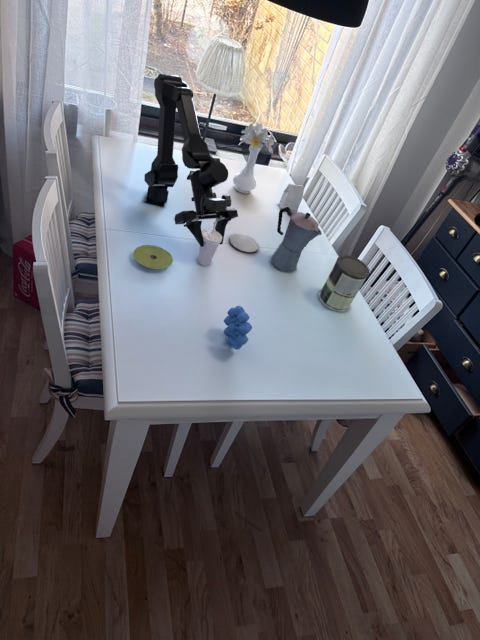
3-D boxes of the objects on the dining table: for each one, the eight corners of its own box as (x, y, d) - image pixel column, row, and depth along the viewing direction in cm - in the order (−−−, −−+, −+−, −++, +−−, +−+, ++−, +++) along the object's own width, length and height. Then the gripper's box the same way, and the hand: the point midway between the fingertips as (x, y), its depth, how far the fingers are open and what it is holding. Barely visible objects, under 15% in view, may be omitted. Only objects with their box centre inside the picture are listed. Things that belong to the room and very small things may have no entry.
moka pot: (295, 281, 152) (320, 228, 139) (255, 256, 155) (276, 203, 142) (307, 270, 159) (332, 218, 146) (269, 247, 162) (290, 194, 149)
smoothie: (215, 259, 148) (227, 220, 139) (212, 270, 143) (225, 231, 134) (195, 252, 147) (206, 213, 138) (191, 264, 142) (203, 224, 133)
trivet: (224, 243, 155) (224, 242, 155) (236, 231, 163) (236, 230, 163) (251, 257, 154) (252, 255, 154) (262, 244, 162) (262, 243, 162)
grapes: (252, 360, 120) (267, 327, 112) (227, 361, 117) (241, 327, 109) (238, 327, 127) (252, 294, 120) (215, 327, 125) (227, 293, 117)
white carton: (296, 211, 188) (306, 188, 182) (281, 209, 185) (290, 186, 179) (293, 206, 190) (302, 183, 184) (278, 204, 188) (287, 181, 181)
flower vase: (253, 180, 197) (273, 121, 181) (260, 203, 184) (282, 141, 168) (222, 174, 193) (240, 112, 177) (228, 197, 180) (247, 132, 164)
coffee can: (312, 295, 148) (330, 259, 139) (330, 286, 155) (349, 251, 146) (337, 316, 144) (357, 280, 135) (355, 306, 151) (376, 271, 142)
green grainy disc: (140, 245, 142) (141, 240, 140) (176, 258, 142) (177, 253, 141) (126, 265, 133) (127, 259, 132) (164, 279, 133) (165, 273, 132)
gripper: (188, 185, 127) (198, 244, 128) (244, 183, 137) (253, 238, 138) (169, 195, 136) (178, 250, 137) (223, 193, 146) (231, 244, 148)
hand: (211, 245), depth 140 cm, fingers closed on smoothie, 6 cm apart
